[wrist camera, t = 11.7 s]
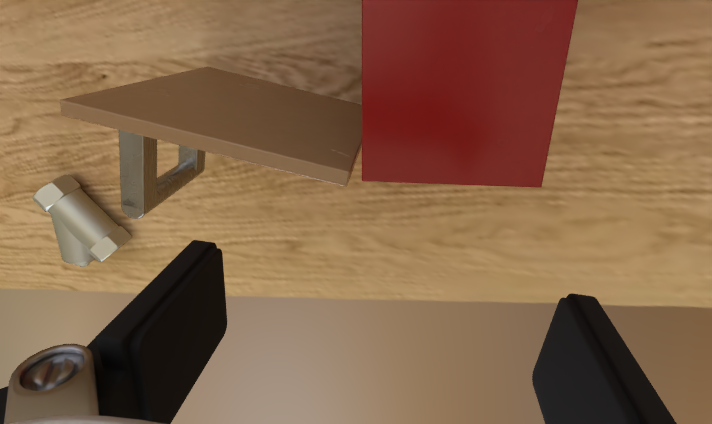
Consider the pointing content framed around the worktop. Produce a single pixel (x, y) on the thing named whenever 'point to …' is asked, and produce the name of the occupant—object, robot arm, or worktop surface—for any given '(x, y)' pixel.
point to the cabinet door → (220, 129)
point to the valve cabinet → (461, 89)
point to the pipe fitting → (79, 222)
